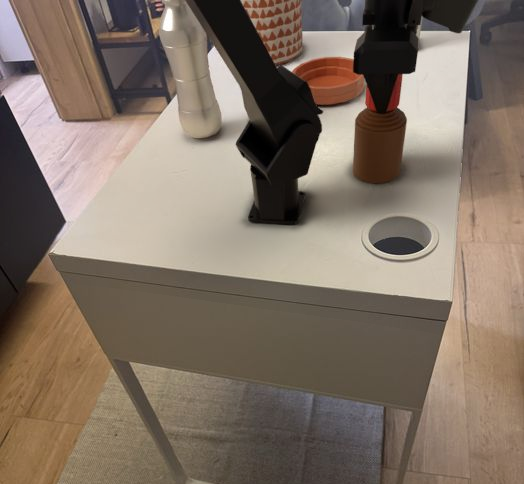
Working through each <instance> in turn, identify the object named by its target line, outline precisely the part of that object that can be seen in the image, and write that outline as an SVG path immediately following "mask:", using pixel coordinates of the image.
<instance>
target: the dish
mask: <svg viewBox="0 0 524 484" xmlns="http://www.w3.org/2000/svg"><path fill="white" fill-rule="evenodd" d="M353 61H354V58H350V57H343V56H323V57H318V58H313V59H310V60H306V61H305V62H302V63H300V64H299V65H297V66H296V67H294V68H293V69H292V72H293V73H294V74H296V75H297V76H299V77H300V78H302V79H303V80H305V81H306V82H307V83H308V85H309V87H310V89H311V92H312V96H313V99H314V102H315V104H316V105H317V106H318V105H319V106H330V105H337V104H342V103H345V102H347V101H349V100H352V99H355V98H357V97H358V96H359V95H361V93H363V92H364V90H365V86H366V81H365V79H364V76H363V75H358V74H356V73H353Z"/></svg>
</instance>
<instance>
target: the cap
mask: <svg viewBox="0 0 524 484" xmlns="http://www.w3.org/2000/svg"><path fill="white" fill-rule="evenodd" d="M403 76H404V74H398V77H397V80H396V83H395V87H394V90H393V93H392V96H391V99H390V103H389V106H388V109H387V111H390V110H393V109H395V108H399V105H400V103H401V101H400V100H401V94H402V85H403ZM365 86H366V87H365V101H364V102H365V103H364V104H365V106H366V107H365V108H369V109H370V110H373V111H376V109H375V106H374V103H373V100H372V97H371V95H370V92H369V89H368V87H367V85H365Z"/></svg>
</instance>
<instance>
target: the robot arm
mask: <svg viewBox="0 0 524 484" xmlns="http://www.w3.org/2000/svg"><path fill="white" fill-rule="evenodd" d="M185 1H186V2H187V4H188V6H189V7H190V9H191V10H192V12H193V13H194V15H195V17H196V18H197V20H198V21H199V23H200V24H201V26H202V28H203V29H204V31H205V32H206V34H207V38H208V39H209V41H210V42H211V44H212V45H213V47H214V48H215V50H216V51H217V53H218V54H219V56H220V58H221V59H222V60H223V63H224V64H225V66H226V67H227V69H228V70H229V72H230V73H231V75H232V77H233V78H234V80H235V81H236V83H237V84H238V86H239V89H240V92H241V96H242V101H243V102H242V103H243V107H244V110H245V112H246V114H247V117H248V119H249V120H248V122H247V123H246V125H245V126H244V128H243V130H242V132H241V133H240V135H239V137H238V138H237V140H236V141H235V147H236V149H237V150H238V152H239V154H240V155H241V157H242V158H244V159H245V160H246V161H247V162H248V163H249V164H250V166H249V167H250V176H251V185H252V193H253V203H252V205H251V208H250V211H249V213H248V215H247V220H248V222H249V223H263V224H265V223H266V224H279V225H280V224H281V225H297V224H298V223H299V222H300V218H301V214H302V210H303V208H304V207H303V206H304V203H305V201H306V200H305V199H306V192H305V191H301V190H299V178H303V177H305V176H307V175H308V174H309V170H310V166H311V164H312V160H313V157H314V153H315V149H316V146H317V143H318V142H319V139H320V136H321V134H322V133H323V124H322V121H321V118H320V117H319V115H322V114H323V113H324V110H323V109H322V108H320V107H319V106H318V105H317V104H315V102H314V99H313V96H312V92H311V89H310V87H309V85H308V83H307V82H306V81H305V80H303V79H302V78H300V77H299V76H297V75H296V74H294V73H293V71H292V70H290V69H288V68H287V67H285V66H284V65H283V64H280V65H278V67H277V65H275V63H274V61H273V60H272V58H271V56H270V54H269V52H268V50H267V49H266V47H265V45H264V43H263V41H262V39H261V37H260V36H259V34H258V32H257V30H256V28H255V26H254V25H253V23H252V21H251V19H250V17H249V15H248V13H247V12H246V10H245V8H244V6H243V4H242V2H241V1H240V0H185ZM478 2H479V0H364V9H363V12H362V21H361V22H362V23H361V25H362V26H365V28H364V32H363V33H362V34H361V35H360V36H359V37H358V38H357V39H356V42H355V46H354V51H353V59H354V61H353V73H356V74H358V75H363V76H364V79H365V85H366V86H367V87H368V89H369V92H370V95H371V97H372V100H373V103H374V106H375V109H376V111H377V113H379V114H385V113H386V112H387V109H388V106H389V103H390V99H391V96H392V93H393V90H394V87H395V83H396V80H397V77H398V74H403V75H410V74H413V73H415V72H416V69H417V62H418V53H419V46H418V42H419V43H420V39H419V38H418V37H417V36H416V33H417V25H421V17H422V16H423V18H424V19H425V20H428V21H429V22H433V23H435V24H437V25H440V26H442V27H445V28H447V29H448V30H449V32H451V33H454V34H461V33H462V32H463V30H464V29H465V27H466V24H468V21H469V20H470V17H471V15H472V13H473V11H474V10H475V8H476V6H477V4H478ZM421 26H422V25H421Z"/></svg>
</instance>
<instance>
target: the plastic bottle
mask: <svg viewBox="0 0 524 484" xmlns="http://www.w3.org/2000/svg"><path fill="white" fill-rule="evenodd" d="M161 3H162V4H164V9H163V11H162V14H161V16H160V20H159V24H158V36H159V39H160V42H161V45H162V47H163V50H164V53H165V56H166V58H167V61H168V65H169V67H170V71H171V74H172V78H173V82H174V86H175V93H176V98H177V99H176V100H177V112H178V121H179V124H180V127H181V128H182V130H183V132H184V133H185V134H186V135H187V136H188V137H190V138H194V139H203V138H208V137H212V136H214V135H216V134H217V133H218V132H219V131H220V129H221V127H222V125H223V124H222V123H223V122H222V121H223V120H222V118H223V117H222V116H223V115H222V111H221V107H220V104H219V101H218V99H217V97H216V93H215V89H214V85H213V82H212V77H211V71H210V64H209V53H208V35H207V34H206V32H205V31H204V29H203V28H202V26H201V24H200V23H199V21H198V20H197V18H196V17H195V15H194V13H193V12H192V10H191V9H190V7H189V6H188V4H187V2H186V1H185V0H161Z"/></svg>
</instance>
